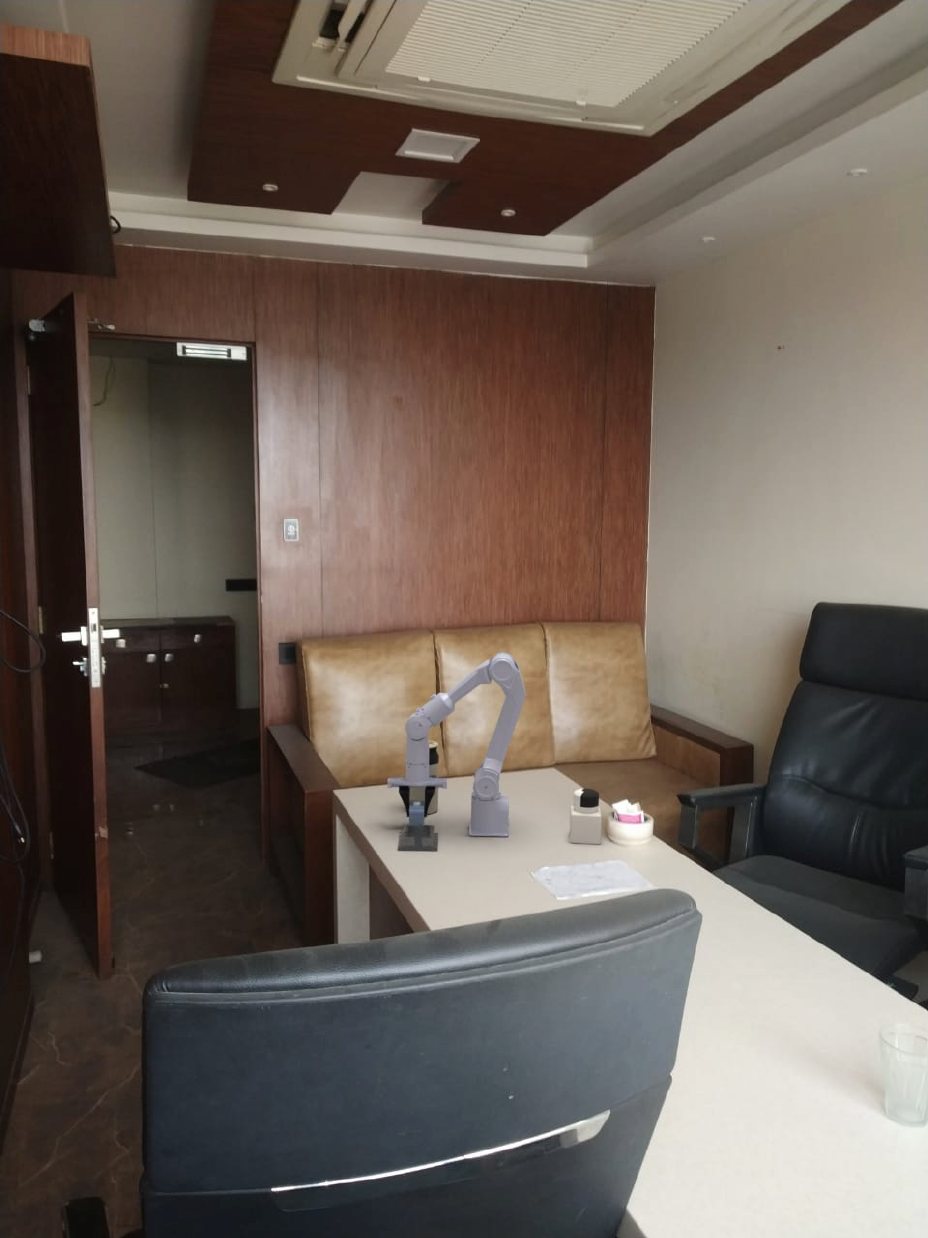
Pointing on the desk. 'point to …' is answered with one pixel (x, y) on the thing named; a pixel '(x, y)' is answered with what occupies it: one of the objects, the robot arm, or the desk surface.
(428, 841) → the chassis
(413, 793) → the travel mug
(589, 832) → the grey rotary knob pedestal
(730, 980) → the desk surface
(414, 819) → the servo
